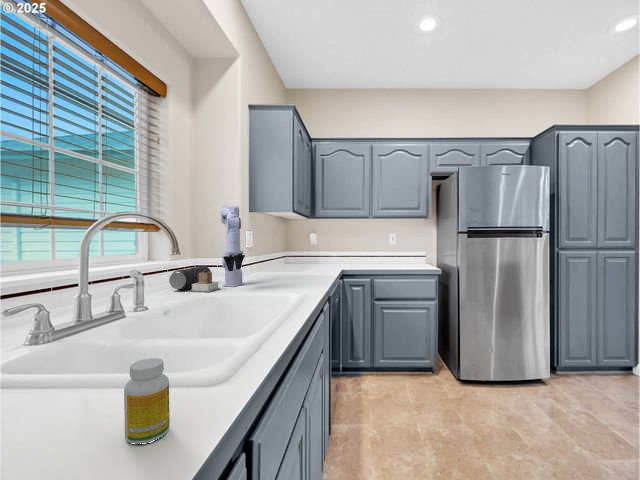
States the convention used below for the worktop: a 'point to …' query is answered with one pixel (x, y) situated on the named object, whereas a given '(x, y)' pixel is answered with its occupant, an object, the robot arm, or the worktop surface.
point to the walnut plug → (205, 277)
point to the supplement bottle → (146, 402)
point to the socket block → (204, 287)
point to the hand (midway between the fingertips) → (234, 270)
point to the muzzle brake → (186, 277)
